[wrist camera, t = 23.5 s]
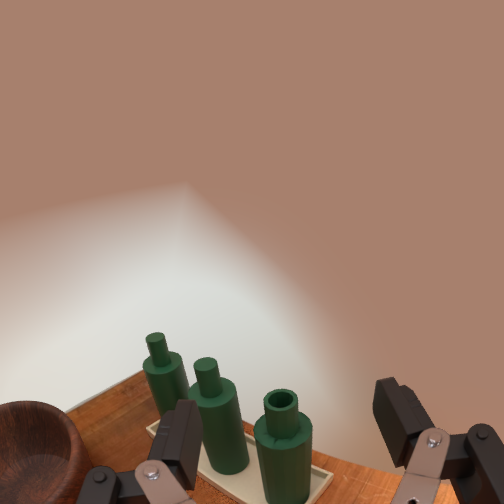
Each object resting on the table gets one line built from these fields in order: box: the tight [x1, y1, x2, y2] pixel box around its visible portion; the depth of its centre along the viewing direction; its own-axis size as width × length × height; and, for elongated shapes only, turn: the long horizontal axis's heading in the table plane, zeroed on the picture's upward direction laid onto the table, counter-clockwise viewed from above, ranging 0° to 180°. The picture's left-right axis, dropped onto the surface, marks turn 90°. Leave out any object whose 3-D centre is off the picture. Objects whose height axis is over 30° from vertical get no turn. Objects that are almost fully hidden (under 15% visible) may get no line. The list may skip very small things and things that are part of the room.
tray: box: [146, 420, 333, 504], centre depth 37 cm, size 28×10×2 cm, turn 50°
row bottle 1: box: [143, 332, 190, 417], centre depth 41 cm, size 6×6×18 cm
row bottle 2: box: [188, 357, 250, 475], centre depth 34 cm, size 6×6×18 cm
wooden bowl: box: [0, 401, 93, 504], centre depth 25 cm, size 25×25×10 cm
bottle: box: [253, 389, 313, 504], centre depth 28 cm, size 6×6×18 cm
